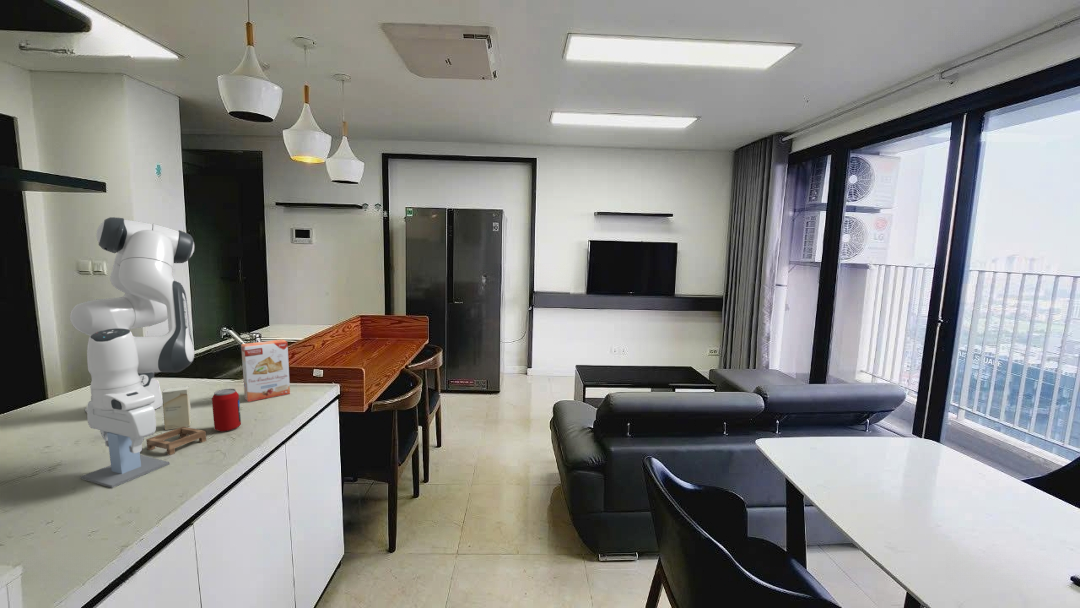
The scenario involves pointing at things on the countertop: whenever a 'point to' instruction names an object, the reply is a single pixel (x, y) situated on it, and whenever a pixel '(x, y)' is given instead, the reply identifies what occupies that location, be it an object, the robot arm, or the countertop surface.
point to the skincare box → (176, 407)
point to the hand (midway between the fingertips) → (123, 448)
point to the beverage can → (226, 410)
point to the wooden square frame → (170, 446)
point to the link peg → (122, 454)
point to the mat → (115, 479)
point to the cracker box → (265, 369)
